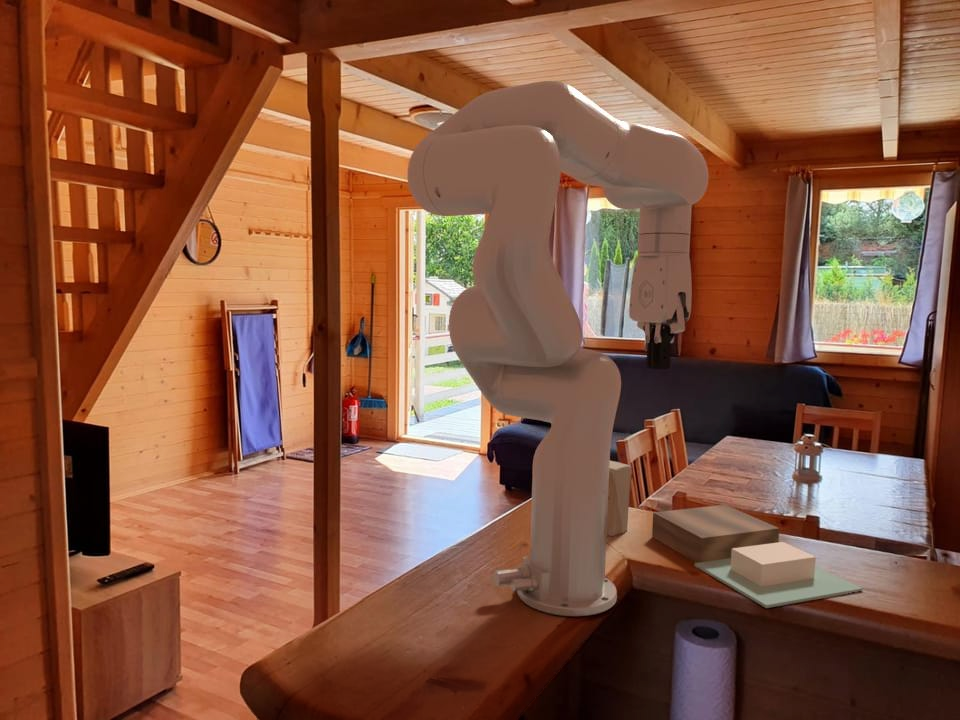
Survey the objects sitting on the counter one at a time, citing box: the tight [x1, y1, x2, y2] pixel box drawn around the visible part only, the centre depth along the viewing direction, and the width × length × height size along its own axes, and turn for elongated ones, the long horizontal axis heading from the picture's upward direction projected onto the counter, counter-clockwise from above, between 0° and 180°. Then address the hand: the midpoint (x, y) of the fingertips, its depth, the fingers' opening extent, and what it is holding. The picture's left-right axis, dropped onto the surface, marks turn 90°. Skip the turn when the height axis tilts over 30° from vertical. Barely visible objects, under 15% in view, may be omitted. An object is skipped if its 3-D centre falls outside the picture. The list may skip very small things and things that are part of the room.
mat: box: [694, 558, 864, 609], centre depth 97 cm, size 16×14×1 cm
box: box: [607, 460, 632, 537], centre depth 114 cm, size 5×4×11 cm
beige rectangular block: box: [730, 541, 817, 587], centre depth 97 cm, size 9×6×3 cm, turn 110°
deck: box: [651, 504, 780, 563], centre depth 109 cm, size 14×12×4 cm
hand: (658, 368), depth 108 cm, fingers closed
